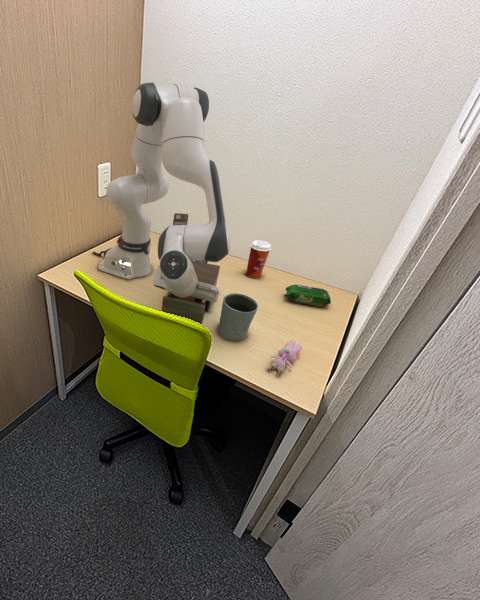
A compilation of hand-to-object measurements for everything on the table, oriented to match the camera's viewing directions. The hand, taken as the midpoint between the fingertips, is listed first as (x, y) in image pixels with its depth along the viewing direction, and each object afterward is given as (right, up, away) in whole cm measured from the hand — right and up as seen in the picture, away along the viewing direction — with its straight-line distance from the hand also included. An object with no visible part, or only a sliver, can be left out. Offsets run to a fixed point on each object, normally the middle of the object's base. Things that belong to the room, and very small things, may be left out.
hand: (188, 293), depth 111 cm
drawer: (-1, -7, +4) cm, 8 cm away
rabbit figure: (+25, -20, -13) cm, 35 cm away
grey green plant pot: (+14, -13, -2) cm, 19 cm away
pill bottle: (+13, +13, +34) cm, 39 cm away
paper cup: (+34, +8, +28) cm, 45 cm away
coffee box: (+6, +22, +48) cm, 53 cm away
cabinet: (+5, -1, +15) cm, 16 cm away
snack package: (+46, -3, +12) cm, 48 cm away
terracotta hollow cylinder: (0, -4, +2) cm, 5 cm away
